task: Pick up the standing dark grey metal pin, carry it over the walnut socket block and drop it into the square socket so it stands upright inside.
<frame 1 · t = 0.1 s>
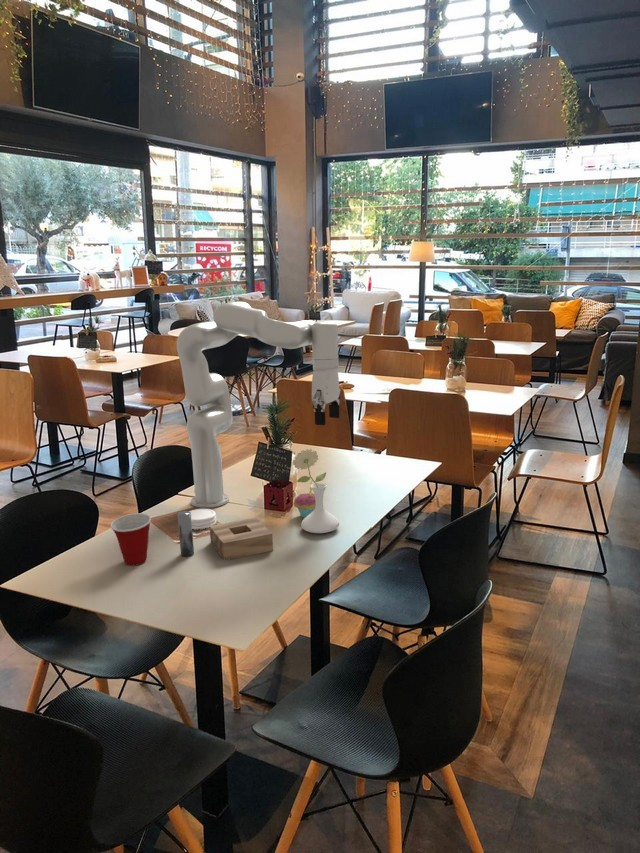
hand: (327, 421, 209), 31 cm above the table, tool pointing down, fingers open, 9 cm apart
plastic cup: (135, 562, 191), on the table
socket block: (241, 546, 198), on the table
coaster: (200, 525, 217), on the table
flower in vase: (317, 530, 208), on the table
steel pin: (187, 554, 194), on the table
cupcake: (308, 516, 220), on the table
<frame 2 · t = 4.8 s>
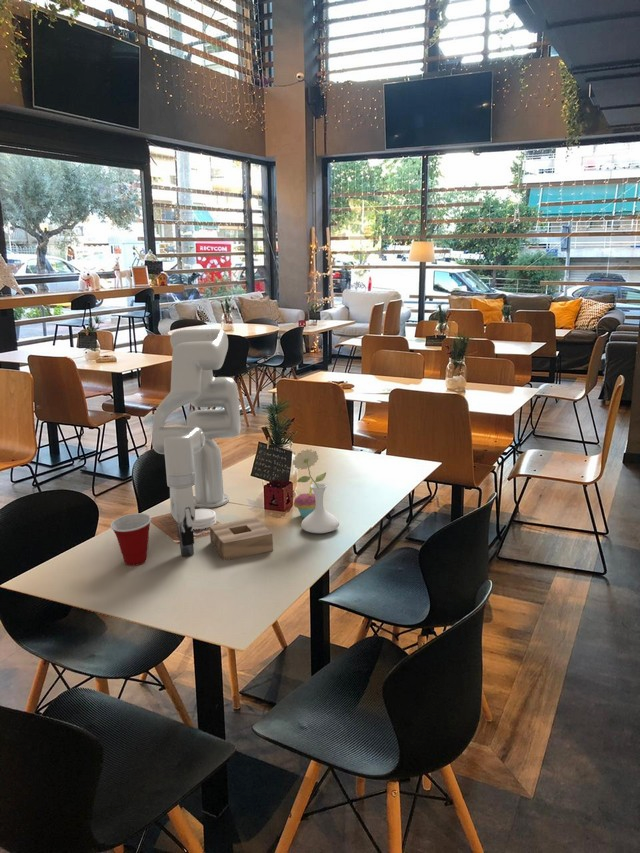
hand: (186, 541, 193), 4 cm above the table, tool pointing down, fingers closed on steel pin, 3 cm apart
steel pin: (187, 554, 194), on the table, touching gripper
everything else where it was.
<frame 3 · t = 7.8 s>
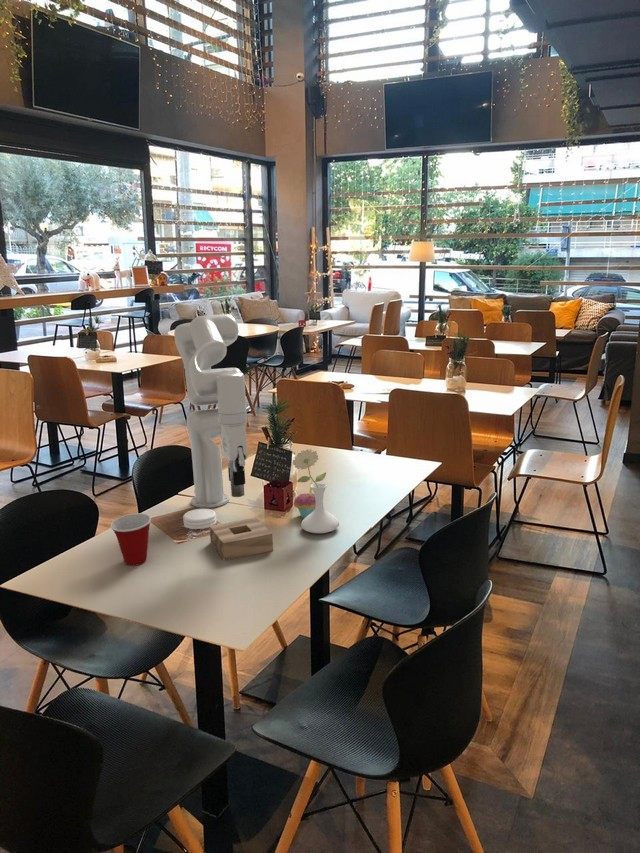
hand: (237, 482, 194), 19 cm above the table, tool pointing down, fingers closed on steel pin, 3 cm apart
steel pin: (237, 494, 195), point 15 cm above the table, touching gripper
everything else where it was.
when the fingers open (6 cm above the table, at t = 11.1 s): steel pin drops 2 cm, resting in socket block.
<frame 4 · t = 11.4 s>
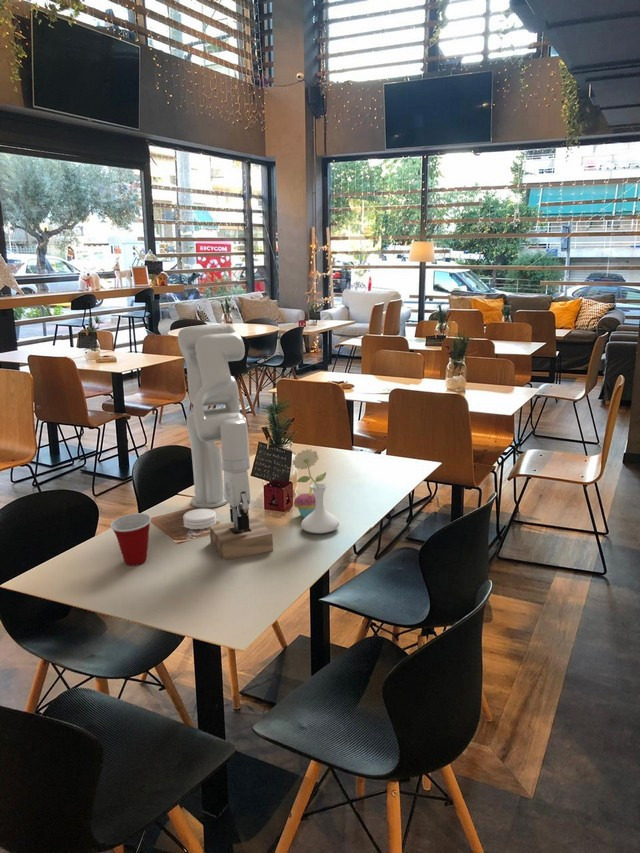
hand: (239, 524, 197), 7 cm above the table, tool pointing down, fingers open, 6 cm apart
steel pin: (241, 546, 198), resting in socket block
everything else where it was.
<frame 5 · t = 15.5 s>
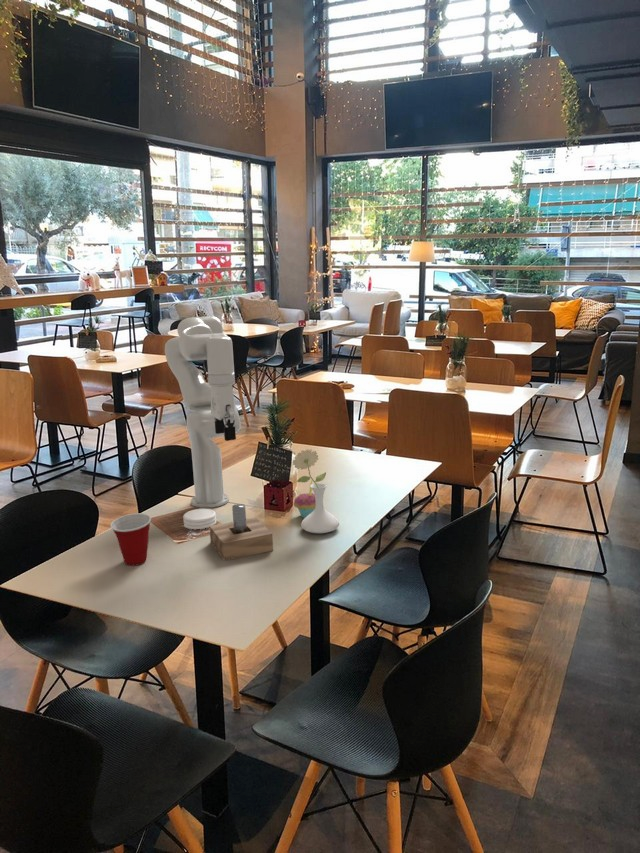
hand: (225, 436, 207), 28 cm above the table, tool pointing down, fingers open, 9 cm apart
nothing on the table moved.
at the end: steel pin 0.1 cm off-centre on the socket block, point 0.0 cm above the socket block's base; steel pin tilted 0°; the gripper is holding nothing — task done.
